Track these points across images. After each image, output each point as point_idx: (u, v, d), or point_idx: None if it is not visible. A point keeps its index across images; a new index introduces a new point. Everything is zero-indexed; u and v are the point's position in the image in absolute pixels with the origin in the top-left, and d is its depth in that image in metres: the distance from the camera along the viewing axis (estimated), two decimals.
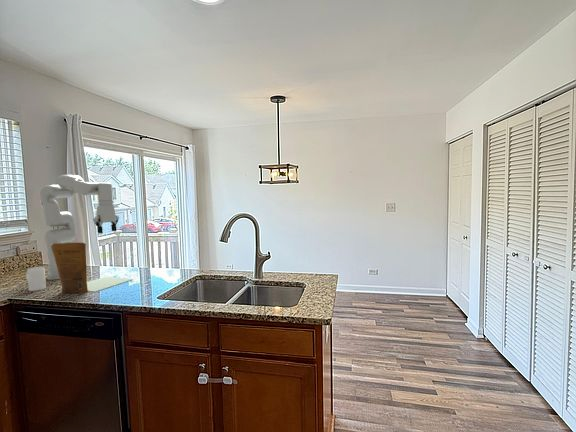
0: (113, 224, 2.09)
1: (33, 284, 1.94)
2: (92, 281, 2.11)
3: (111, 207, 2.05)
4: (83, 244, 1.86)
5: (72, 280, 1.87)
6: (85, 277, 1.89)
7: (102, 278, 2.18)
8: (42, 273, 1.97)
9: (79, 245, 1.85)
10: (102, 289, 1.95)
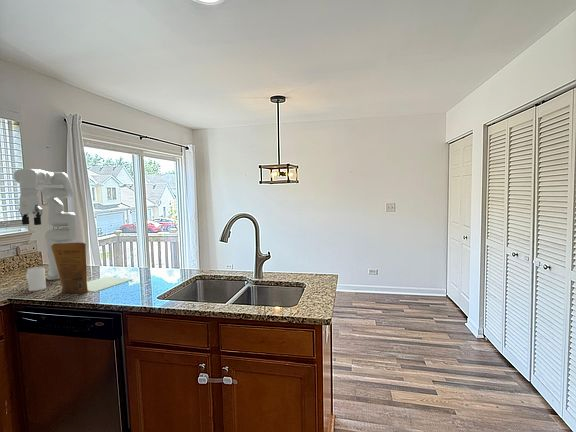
0: (25, 216, 1.85)
1: (33, 284, 1.94)
2: (92, 281, 2.11)
3: None
4: (83, 244, 1.86)
5: (72, 280, 1.87)
6: (85, 277, 1.89)
7: (102, 278, 2.18)
8: (42, 273, 1.97)
9: (79, 245, 1.85)
10: (102, 289, 1.95)
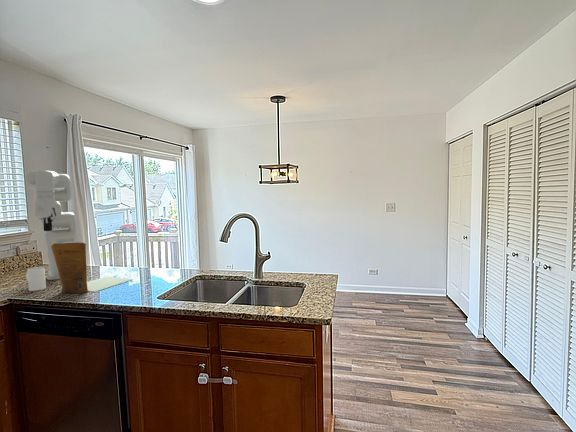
0: None
1: (33, 284, 1.94)
2: (92, 281, 2.11)
3: None
4: (83, 244, 1.86)
5: (72, 280, 1.87)
6: (85, 277, 1.89)
7: (102, 278, 2.18)
8: (42, 273, 1.97)
9: (79, 245, 1.85)
10: (102, 289, 1.95)
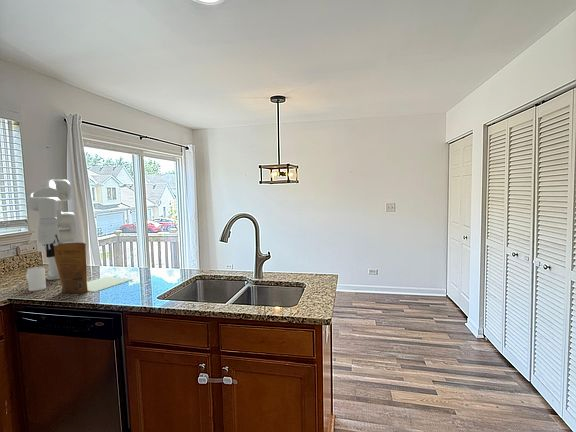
0: None
1: (33, 284, 1.94)
2: (92, 281, 2.11)
3: None
4: (83, 244, 1.86)
5: (72, 280, 1.87)
6: (85, 277, 1.89)
7: (102, 278, 2.18)
8: (42, 273, 1.97)
9: (79, 245, 1.85)
10: (102, 289, 1.95)
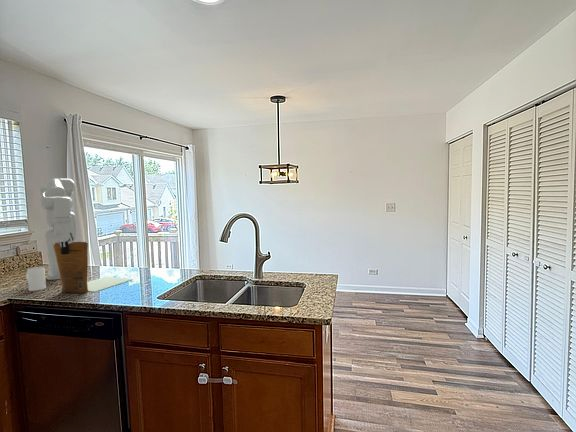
0: None
1: (33, 284, 1.94)
2: (92, 281, 2.11)
3: None
4: (85, 243, 1.87)
5: (72, 280, 1.87)
6: (86, 277, 1.89)
7: (102, 278, 2.18)
8: (42, 273, 1.97)
9: (81, 244, 1.87)
10: (102, 289, 1.95)
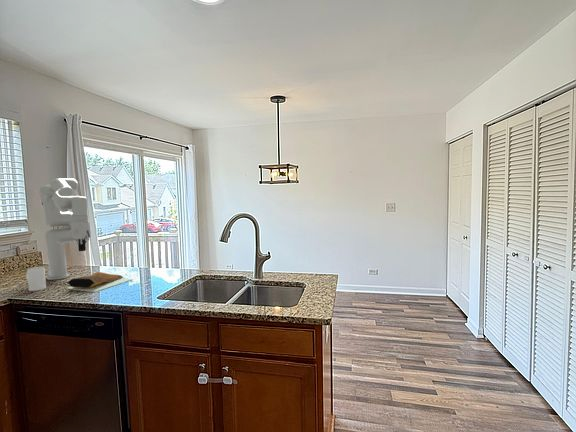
0: None
1: (33, 284, 1.94)
2: None
3: None
4: None
5: (92, 276, 2.01)
6: (102, 281, 2.01)
7: None
8: (42, 273, 1.97)
9: (119, 275, 2.20)
10: (102, 289, 1.95)
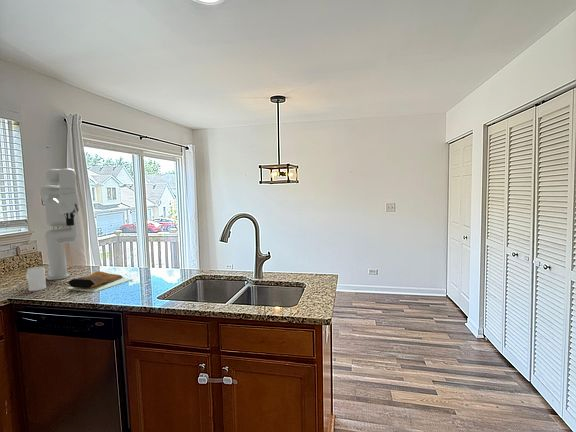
0: None
1: (33, 284, 1.94)
2: None
3: None
4: None
5: (92, 276, 2.01)
6: (102, 282, 2.01)
7: None
8: (42, 273, 1.97)
9: (119, 275, 2.20)
10: (102, 289, 1.95)
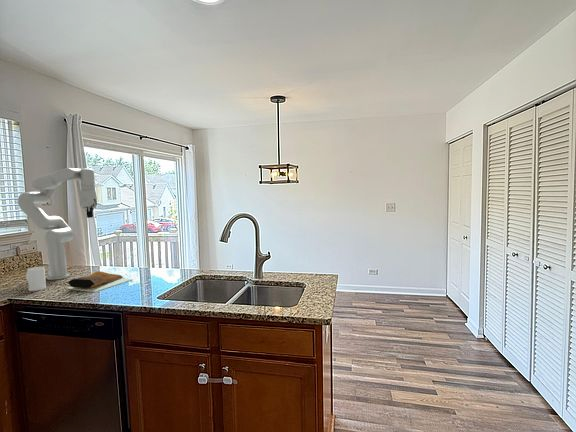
0: None
1: (33, 284, 1.94)
2: None
3: None
4: None
5: (92, 276, 2.01)
6: (102, 282, 2.01)
7: None
8: (42, 273, 1.97)
9: (119, 275, 2.20)
10: (102, 289, 1.95)
